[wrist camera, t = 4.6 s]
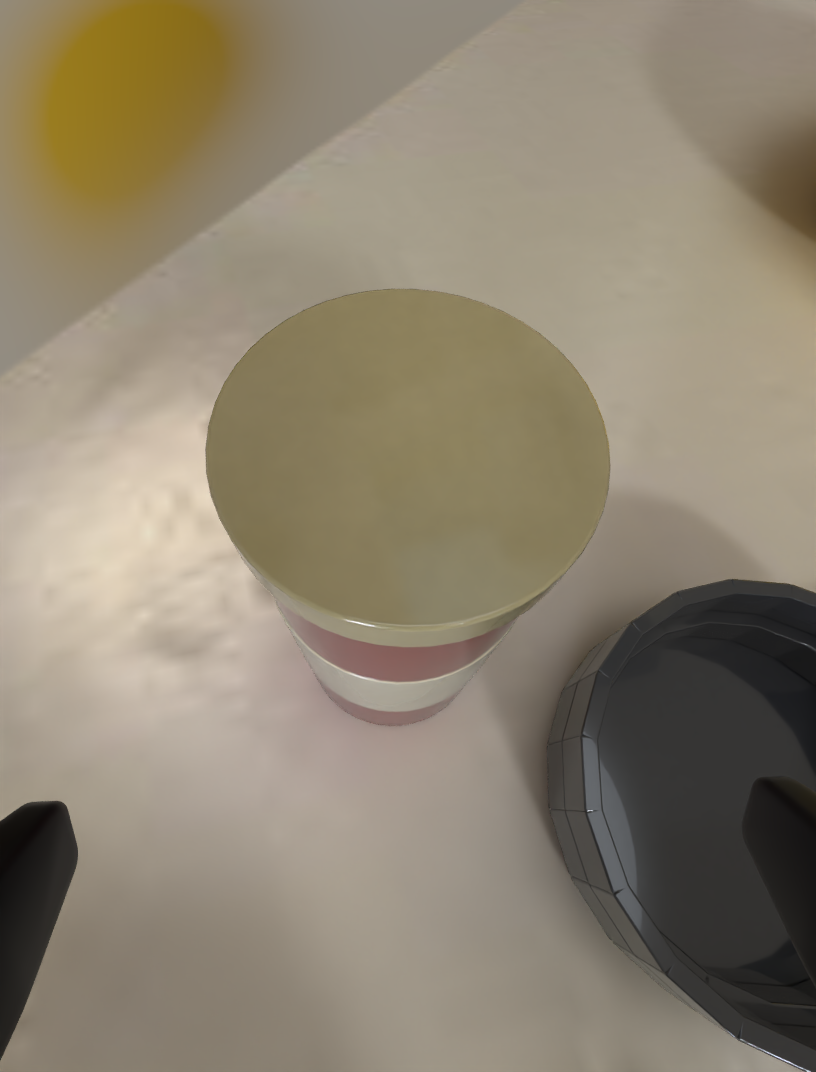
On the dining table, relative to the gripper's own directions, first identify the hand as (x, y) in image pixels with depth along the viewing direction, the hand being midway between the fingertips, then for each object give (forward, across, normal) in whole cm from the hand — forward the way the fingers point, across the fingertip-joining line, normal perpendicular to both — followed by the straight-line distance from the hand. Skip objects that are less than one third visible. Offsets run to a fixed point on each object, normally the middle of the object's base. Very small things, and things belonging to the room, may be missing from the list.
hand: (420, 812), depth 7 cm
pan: (+8, -11, +8) cm, 16 cm away
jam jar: (+12, 0, +5) cm, 13 cm away
